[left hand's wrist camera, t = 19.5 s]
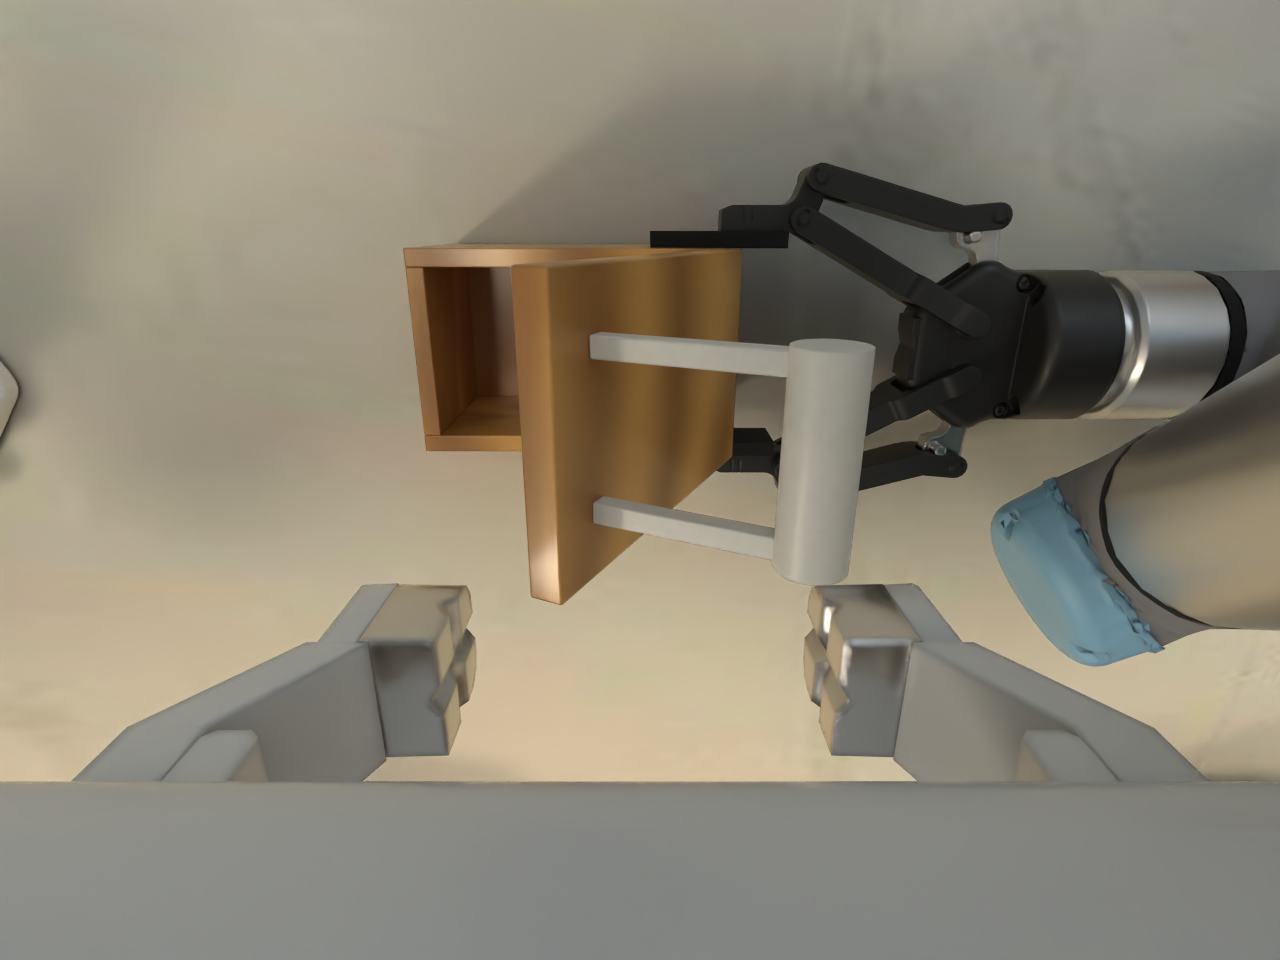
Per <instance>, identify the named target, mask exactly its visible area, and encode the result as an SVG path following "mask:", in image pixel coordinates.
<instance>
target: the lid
mask: <svg viewBox="0 0 1280 960" xmlns="http://www.w3.org/2000/svg"><path fill="white" fill-rule="evenodd" d="M742 255H743V251H742V250H741V249H713V250H700V251H687V252H673V253H660V254H646V255H633V256H620V257H606V258H593V259H580V260H566V261H553V262H540V263H526V264H514V265H512V266H511V279H512V296H513V312H514V328H515V344H516V360H517V377H518V393H519V409H520V425H521V441H522V458H523V474H524V490H525V506H526V522H527V539H528V555H529V571H530V587H531V596H532V597H533V598H537V599H540V600H544V601H548V602H551V603H555V604H559V605H562V604H564V603H565V602H566V601H567V600H568V599H570V598H571V597H572V596H573V595H574V594H575V593H576V592H578V591H579V590H580V589H581V588H582V587H583V586H584V585H586V584H587V583H588V582H589V581H590V580H591V579H592V578H594V577H595V576H596V575H597V574H598V573H599V572H600V571H602V570H603V569H604V568H605V567H606V566H607V565H609V564H610V563H611V562H612V561H613V560H614V559H615V558H617V557H618V556H619V555H620V554H621V553H622V552H623V551H625V550H626V549H627V548H628V547H629V546H630V545H631V544H633V543H634V542H635V541H636V540H637V539H638V538H639V537H641V536H642V535H643V534H648V535H653V536H657V537H662V538H667V539H672V540H677V541H681V542H686V543H691V544H696V545H701V546H705V547H710V548H715V549H720V550H725V551H729V552H734V553H739V554H744V555H749V556H753V557H758V558H763V559H768V560H772V566H773V568H774V570H775V571H776V572H777V573H778V574H779V575H780V576H782V577H784V578H786V579H788V580H790V581H793V582H796V583H800V584H805V585H814V586H823V585H831V584H835V583H838V582H840V581H842V580H844V579H845V578H846V576H847V575H848V571H849V563H850V555H851V547H852V539H853V530H854V522H855V514H856V506H857V498H858V490H859V482H860V474H861V465H862V457H863V449H864V441H865V433H866V425H867V417H868V409H869V400H870V392H871V384H872V376H873V368H874V360H875V352H876V348H875V346H873V345H871V344H868V343H864V342H859V341H853V340H843V339H803V340H797V341H793V342H791V343H790V344H789V346H783V345H769V344H756V343H742V342H738V331H739V312H740V293H741V274H742ZM736 373H744V374H754V375H765V376H776V377H786V378H787V379H786V391H785V404H784V417H783V430H782V442H781V455H780V468H779V481H778V493H777V506H776V519H775V528H770V527H765V526H760V525H754V524H749V523H744V522H738V521H733V520H728V519H723V518H717V517H712V516H707V515H701V514H696V513H691V512H685V511H680V510H675V509H673V508H674V507H675V506H676V505H677V504H678V503H679V502H681V501H682V500H683V499H684V498H685V497H686V496H687V495H689V494H690V493H691V492H692V491H693V490H694V489H695V488H697V487H698V486H699V485H700V484H701V483H702V482H704V481H705V480H706V479H707V478H708V477H709V476H710V475H712V474H713V473H714V472H715V471H716V470H717V469H718V468H720V467H721V466H722V465H723V464H724V463H725V462H726V461H728V460H729V459H730V458H731V457H732V446H733V427H734V408H735V389H736Z"/></svg>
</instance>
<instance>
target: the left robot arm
mask: <svg viewBox="0 0 1280 960" xmlns="http://www.w3.org/2000/svg"><path fill="white" fill-rule="evenodd" d="M18 393H19V390H18V385H17V382H16V380H15V379H14V377H13V376H12V374H11V373H10V372H9V370H8V369H7V368H6V367H5V366H4V364H3V363H2V362H1V361H0V437H1V435H2V432H3V430H4V428H5V426H6V423H7V421H8V419H9V416H10V414H11V412H12V409H13V407H14V405H15V402H16V400H17V398H18ZM472 612H473V611H472V604H471V596H470V591H469V590H468V588H467V586H466V585H413V584H401V585H399V584H368V585H362V586H361V587H360V589H359V590H358V591H357V592H356V594H355V595H354V596H353V597H352V599H351V600H350V601H349V602H348V604H347V605H346V606H345V608H344V609H343V610H342V611H341V613H340V614H339V615H338V616H337V618H336V619H335V620H334V621H333V623H332V624H331V625H330V627H329V628H328V629H327V630H326V632H325V633H324V634H323V635H322V637H321V638H320V639H319V640H318V642H306V643H304V644H302V645H300V646H298V647H295V648H293V649H291V650H289V651H287V652H285V653H283V654H281V655H279V656H276V657H274V658H272V659H270V660H268V661H266V662H264V663H262V664H260V665H257V666H255V667H253V668H251V669H249V670H247V671H245V672H243V673H241V674H238V675H236V676H234V677H232V678H230V679H228V680H226V681H224V682H222V683H219V684H217V685H215V686H213V687H211V688H209V689H207V690H205V691H203V692H200V693H198V694H196V695H194V696H192V697H190V698H188V699H186V700H184V701H181V702H179V703H177V704H175V705H173V706H171V707H169V708H167V709H165V710H162V711H160V712H158V713H156V714H154V715H152V716H150V717H148V718H146V719H143V720H141V721H139V722H137V723H135V724H133V725H131V726H129V727H127V728H126V729H125V730H124V731H123V732H122V733H121V734H120V735H119V736H118V737H116V738H115V739H114V740H113V741H112V742H111V743H110V744H109V745H108V746H107V747H106V748H105V749H104V750H103V751H102V752H101V753H100V754H99V755H98V756H97V757H96V758H95V759H94V760H93V761H92V762H91V763H90V764H89V765H88V766H87V767H85V768H84V769H83V770H82V771H81V772H80V773H79V774H78V775H77V776H76V777H75V778H74V779H73V780H72V781H71V782H0V960H1280V782H1259V781H1208V780H1207V779H1206V778H1205V777H1204V776H1203V775H1202V774H1201V773H1200V772H1199V771H1198V770H1197V769H1196V768H1195V767H1194V766H1193V765H1192V764H1191V763H1190V762H1189V761H1188V760H1186V759H1185V758H1184V757H1183V756H1182V755H1181V754H1180V753H1179V752H1178V751H1177V750H1176V749H1175V748H1174V747H1173V746H1172V745H1171V744H1170V743H1169V742H1168V741H1167V740H1166V739H1165V738H1164V737H1163V736H1162V735H1161V734H1160V733H1159V732H1158V731H1157V730H1156V729H1155V728H1153V727H1151V726H1149V725H1147V724H1144V723H1142V722H1140V721H1138V720H1136V719H1134V718H1132V717H1130V716H1128V715H1126V714H1123V713H1121V712H1119V711H1117V710H1115V709H1113V708H1111V707H1109V706H1107V705H1104V704H1102V703H1100V702H1098V701H1096V700H1094V699H1092V698H1090V697H1088V696H1086V695H1083V694H1081V693H1079V692H1077V691H1075V690H1073V689H1071V688H1069V687H1067V686H1064V685H1062V684H1060V683H1058V682H1056V681H1054V680H1052V679H1050V678H1048V677H1046V676H1043V675H1041V674H1039V673H1037V672H1035V671H1033V670H1031V669H1029V668H1027V667H1024V666H1022V665H1020V664H1018V663H1016V662H1014V661H1012V660H1010V659H1008V658H1006V657H1003V656H1001V655H999V654H997V653H995V652H993V651H991V650H989V649H987V648H985V647H982V646H980V645H978V644H976V643H974V642H962V641H961V639H960V638H959V637H958V635H957V634H956V633H955V632H954V630H953V629H952V628H951V627H950V625H949V624H948V623H947V622H946V620H945V619H944V618H943V617H942V615H941V614H940V613H939V612H938V610H937V609H936V608H935V606H934V605H933V604H932V603H931V601H930V600H929V599H928V598H927V596H926V595H925V594H924V593H923V591H922V590H921V589H920V588H919V586H917V585H914V584H912V583H910V584H887V585H883V584H869V585H827V586H814V587H812V589H811V592H810V596H809V602H808V611H807V612H808V615H809V617H810V619H811V622H812V624H813V627H814V628H813V629H812V630H811V632H810V633H809V634H808V635H807V636H806V637H805V643H804V657H803V658H804V676H805V681H806V686H807V690H808V693H809V696H810V699H811V701H812V702H814V703H815V704H817V705H818V706H819V707H820V715H819V724H820V726H821V729H822V732H823V734H824V737H825V740H826V742H827V745H828V748H829V750H830V753H831V755H835V756H872V757H894V759H893V760H894V761H895V762H896V763H898V764H899V765H900V766H901V767H902V768H903V769H905V770H906V771H907V772H908V773H909V774H910V775H911V776H913V777H914V778H915V779H916V780H917V781H746V782H362V781H363V780H364V779H365V778H367V777H368V776H369V775H370V774H371V773H372V772H374V771H375V770H376V769H377V768H378V767H379V766H380V765H382V764H383V763H384V762H385V761H386V757H407V756H443V755H449V753H450V751H451V748H452V745H453V742H454V740H455V737H456V734H457V732H458V729H459V726H460V724H461V715H460V707H461V706H462V705H463V704H465V703H466V702H468V701H469V699H470V696H471V693H472V690H473V686H474V680H475V673H476V642H475V637H474V636H473V635H472V634H471V633H470V632H469V631H468V629H467V628H466V627H467V624H468V622H469V619H470V617H471V615H472Z"/></svg>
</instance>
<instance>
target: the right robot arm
mask: <svg viewBox="0 0 1280 960" xmlns="http://www.w3.org/2000/svg"><path fill="white" fill-rule="evenodd" d="M823 199H826V200H829V201H832V202H836V203H839V204H842V205H846V206H849V207H852V208H856V209H859V210H862V211H865V212H869V213H872V214H875V215H879V216H882V217H885V218H889V219H892V220H895V221H899V222H902V223H905V224H909V225H912V226H915V227H918V228H922V229H925V230H930V231H935V232H949V242H950V244H951V245H952V246H953V247H954V248H957V249H962V250H964V251H965V252H966V253H967V255H968V258H969V262H967V263H966V264H964V265H963V266H961V267H960V268H958V269H957V270H955V271H954V272H952V273H951V274H949V275H948V276H946V277H945V278H943V279H942V280H940V281H939V282H937V283H935V282H933V281H932V280H930V279H928V278H926V277H924V276H922V275H920V274H918V273H916V272H914V271H913V270H911V269H909V268H908V267H906V266H905V265H903V264H901V263H900V262H898V261H897V260H895V259H893V258H892V257H890V256H889V255H887V254H885V253H884V252H882V251H881V250H879V249H877V248H876V247H874V246H873V245H871V244H869V243H868V242H866V241H865V240H863V239H861V238H860V237H858V236H857V235H855V234H853V233H852V232H850V231H849V230H847V229H845V228H844V227H842V226H841V225H839V224H837V223H836V222H834V221H833V220H831V219H829V218H828V217H826V216H825V215H823V214H821V213H820V212H818V211H819V208H820V206H821V204H822V201H823ZM1012 216H1013V214H1012V209H1011V207H1010V206H1009V205H1008V204H1006V203H1001V202H1000V203H987V204H974V205H961V204H957V203H954V202H951V201H948V200H944V199H941V198H938V197H935V196H931V195H928V194H925V193H922V192H918V191H915V190H912V189H909V188H905V187H902V186H899V185H895V184H892V183H889V182H886V181H882V180H879V179H876V178H873V177H869V176H866V175H863V174H860V173H856V172H853V171H850V170H847V169H843V168H840V167H837V166H834V165H830V164H827V163H819V164H816V165H813V166H810V167H808V168H805V169H804V170H802V171H801V172H800V174H799V176H798V180H797V185H796V187H795V190H794V192H793V195H792V196H791V198H790V200H789V201H788V202H786V203H785V204H783V205H732V206H728V207H726V208H724V209H721V210H719V219H718V231H650V247H651V248H788V239H789V233H791V234H793V235H794V236H796V237H797V238H799V239H801V240H802V241H804V242H806V243H807V244H809V245H810V246H812V247H814V248H815V249H817V250H819V251H820V252H822V253H823V254H825V255H827V256H828V257H830V258H832V259H833V260H835V261H837V262H838V263H840V264H841V265H843V266H845V267H846V268H848V269H850V270H851V271H853V272H854V273H856V274H858V275H859V276H861V277H863V278H864V279H866V280H867V281H869V282H871V283H872V284H874V285H876V286H877V287H879V288H881V289H882V290H884V291H885V292H886V293H887V294H889V295H890V296H892V297H893V298H895V299H897V300H898V301H900V302H902V303H903V304H905V305H906V306H907V307H906V309H905V311H904V313H900V316H899V324H898V332H899V339H900V344H899V347H898V349H897V352H896V354H895V357H894V362H893V370H892V372H893V373H895V374H896V376H894V377H892V378H890V379H888V380H886V381H884V382H882V383H880V384H879V385H877V386H876V387H875V389H874V390H873V391H871V392H870V400H869V409H868V417H867V425H866V433H865V436H867V435H869V434H871V433H873V432H875V431H877V430H879V429H881V428H883V427H885V426H887V425H889V424H891V423H893V422H896V421H900V420H907V419H910V418H912V417H914V416H916V415H918V414H920V413H922V412H924V411H926V410H928V409H929V410H930V411H932V412H933V413H934V414H935V415H937V416H938V417H939V418H940V419H942V420H943V421H942V424H941V426H940V427H939V428H938V429H937V430H935V431H931V432H926V433H924V434H921V435H920V436H919V438H918V441H908V442H900V443H895V444H891V445H887V446H883V447H879V448H875V449H871V450H867V451H863V457H862V465H861V474H860V482H859V490H858V491H860V490H864V489H868V488H872V487H876V486H881V485H885V484H889V483H893V482H897V481H901V480H905V479H909V478H913V477H918V476H922V475H925V476H937V477H949V478H957V477H960V476H962V475H963V474H964V473H965V471H966V469H967V462H966V460H965V459H964V458H962V457H961V456H960V454H961V451H962V447H963V443H964V439H965V435H966V432H967V428H968V427H972V426H974V425H976V424H978V423H980V422H982V421H985V420H989V419H1072V418H1076V417H1082V418H1084V419H1160V418H1170V420H1169V421H1167V422H1165V423H1164V424H1162V425H1160V426H1156V427H1154V428H1153V429H1151V430H1149V431H1147V432H1145V433H1144V434H1142V435H1140V436H1138V437H1137V438H1135V439H1133V440H1131V441H1130V442H1128V443H1126V444H1125V445H1123V446H1121V447H1120V448H1118V449H1116V450H1115V451H1113V452H1111V453H1109V454H1107V455H1105V456H1103V457H1101V458H1099V459H1097V460H1095V461H1093V462H1091V463H1088V464H1086V465H1084V466H1082V467H1079V468H1077V469H1075V470H1073V471H1070V472H1068V473H1066V474H1064V475H1061V476H1059V477H1055V478H1054V477H1052V478H1050V479H1048V480H1045V481H1044V482H1043V484H1042V485H1041V486H1040V487H1038V488H1036V489H1034V490H1032V491H1030V492H1028V493H1026V494H1024V495H1022V496H1020V497H1018V498H1016V499H1014V500H1012V501H1011V502H1009V503H1007V504H1005V505H1003V506H1002V507H1001V508H1000V509H999V510H998V511H997V512H996V513H995V515H994V517H993V520H992V522H991V538H992V543H993V547H994V550H995V553H996V556H997V559H998V561H999V563H1000V566H1001V568H1002V570H1003V572H1004V574H1005V576H1006V578H1007V580H1008V582H1009V584H1010V585H1011V587H1012V589H1013V590H1014V592H1015V594H1016V595H1017V597H1018V599H1019V600H1020V602H1021V604H1022V605H1023V607H1024V608H1025V610H1026V611H1027V613H1028V614H1029V615H1030V617H1031V618H1032V620H1033V621H1034V622H1035V624H1036V625H1037V626H1038V627H1039V629H1040V630H1041V631H1042V632H1043V634H1044V635H1045V636H1046V637H1047V638H1048V639H1049V640H1050V641H1051V642H1052V643H1053V644H1054V645H1055V646H1056V647H1057V648H1058V649H1059V650H1060V651H1061V652H1063V653H1064V654H1065V655H1066V656H1068V657H1069V658H1071V659H1073V660H1075V661H1076V662H1078V663H1081V664H1084V665H1088V666H1105V665H1108V664H1111V663H1114V662H1117V661H1120V660H1123V659H1126V658H1129V657H1132V656H1135V655H1138V654H1141V653H1144V652H1153V653H1157V652H1159V651H1162V650H1164V649H1165V648H1164V647H1162V646H1164V645H1166V644H1169V643H1171V642H1173V641H1176V640H1178V639H1180V638H1182V637H1185V636H1187V635H1190V634H1193V633H1196V632H1200V631H1204V630H1208V629H1251V630H1278V631H1280V270H1273V271H1230V272H1204V271H1192V270H1109V271H1101V272H1099V273H1097V272H1094V271H1090V270H1012V269H1010V268H1008V267H1006V266H1004V265H1003V264H1002V263H1000V262H998V261H997V257H998V246H999V236H1000V229H1003V228H1005V227H1006V226H1007V225H1008V224H1009V223H1010V221H1011V219H1012ZM781 442H782V437H781V438H779V439H777V440H775V441H773V440H772V439H771V437H770V435H769V434H768V432H767V430H766V429H765V428H733V446H732V457H731V458H730V459H729V460H728V461H726V462H725V463H724V464H723V465H722V466H721V467H720V468H718V469H717V470H716V471H719V472H765V473H769V474H771V475H773V477H774V480H775V485H776V487H777V489H778V481H779V468H780V455H781Z"/></svg>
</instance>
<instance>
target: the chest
mask: <svg viewBox="0 0 1280 960" xmlns="http://www.w3.org/2000/svg"><path fill="white" fill-rule="evenodd" d="M713 249H727V248H651V247H650V244H444V245H433V246H422V247H410V248H404V249H403V250H404V259H405V266H406V276H407V284H408V293H409V302H410V311H411V320H412V328H413V337H414V346H415V355H416V364H417V372H418V381H419V390H420V399H421V408H422V417H423V425H424V434H425V443H426V450H427V451H522V441H521V425H520V409H519V393H518V377H517V360H516V344H515V328H514V312H513V296H512V279H511V266H512V265H514V264H526V263H540V262H553V261H566V260H580V259H593V258H606V257H620V256H633V255H646V254H660V253H673V252H687V251H700V250H713Z"/></svg>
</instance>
